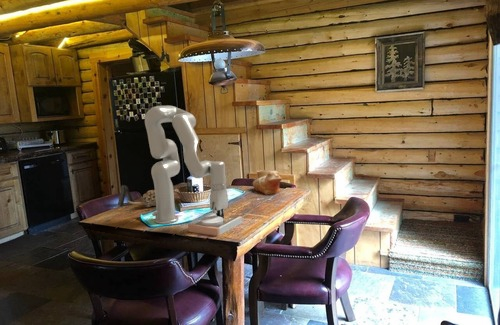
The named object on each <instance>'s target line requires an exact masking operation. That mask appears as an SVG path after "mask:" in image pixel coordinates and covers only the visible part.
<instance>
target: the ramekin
mask: <svg viewBox="0 0 500 325" xmlns="http://www.w3.org/2000/svg"><path fill="white" fill-rule="evenodd" d="M208 216H209V217H207V216H205V217H203V218H201V219H200V220H201V224H202V225H203V226H210V227H217V228H219V227H220V226H222V225H224V222H225V218H224V219H223V218H222V217H219V216H210V215H208ZM223 221H224V222H223Z"/></svg>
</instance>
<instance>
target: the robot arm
mask: <svg viewBox="0 0 500 325" xmlns="http://www.w3.org/2000/svg"><path fill="white" fill-rule="evenodd" d="M163 123H172V124H171V125H172V127H173V129H174V131H175V133H176V135H177V137H178V139H179V141H180V143H181V144H182V149H183V151H182V153H183V159H184V163H185V165H186V168H187V169H188V172H189V173H190V175H191V176H192V177H193V178H194V179H202V178H204V177H207V176H210V177H209V178H210V193H209V209H210V211H212V214H214V213H215V214H216V215H217V216H219V217H222V218H223V219H224V221H223V223H225V211H226V209H227V208H228V206H229V196H228V190H227V178H226V177H227V175H226V164H225V162H224V161H219V160H216V161H212V160H201V161H200V159H199V157H198V154H197V147H198V144H199V142H200V140H199V137H198V134H197V133H196V131H195V128H194V127H195V126H196V124H197V119H196V116H194V114H192V113H191V112H188V111H186V110H184V109H181V108H178V107H177V106H173V105H156V106H153V107H151V108H149V109H148V111H147V112H146V113H145V115H144V125H145V129H146V133H147V139H148V144H149V149H150V154H151V156H152V158H154V159H156V160H161V159H162V160H161V161H158V162H156V163H155V164H153V165H152V167H151V173H150V174H151V178H152V181H153V185H154V190H155V199H156V205H155V207H156V208H155V210H154V211H153V212H152V213H151V215H152V216H154V220H153V222H154V223H155V224H161V225H163V224H164V225H166V224H172V223H175V222H177V221H178V220H179V216H178V215H176V206H175V195H174V194H175V193H174V192H175V191H174V184H173V182H172V180H171V178H172V177H175V176H176V175H178V174H179V173H180V170H181V163H180V156H179V153H178V152H179V151H178V147H177V144H176V143H175V141H174V140H172V139H169V138H166V134H165V130H164V128H163V126H162V124H163Z"/></svg>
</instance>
